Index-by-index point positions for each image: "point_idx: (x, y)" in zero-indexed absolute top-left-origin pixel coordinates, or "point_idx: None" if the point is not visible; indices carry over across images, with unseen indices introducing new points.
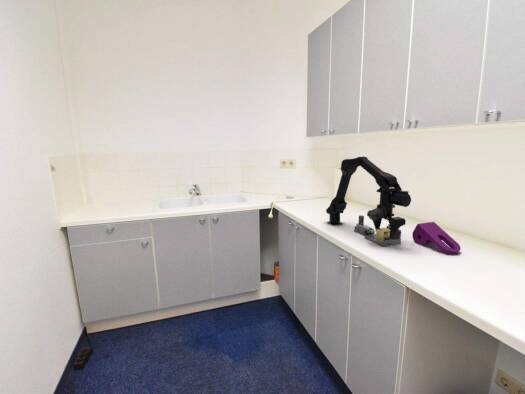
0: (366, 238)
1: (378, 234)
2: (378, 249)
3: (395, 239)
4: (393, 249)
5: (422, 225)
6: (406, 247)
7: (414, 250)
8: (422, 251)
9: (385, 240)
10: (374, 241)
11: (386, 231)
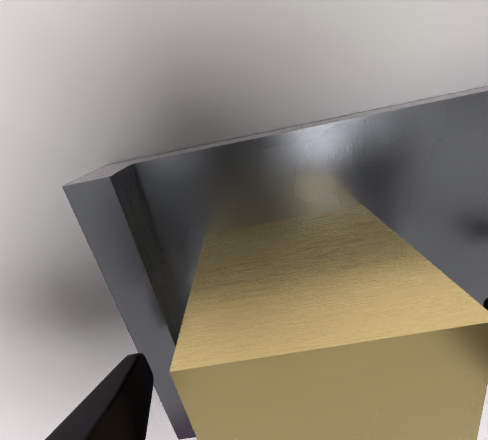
0: (472, 91)
1: (342, 256)
2: (2, 42)
3: (166, 387)
4: (30, 247)
5: None
6: (100, 381)
7: (26, 400)
8: (10, 435)
9: (128, 252)
10: (280, 131)
11: (200, 427)
